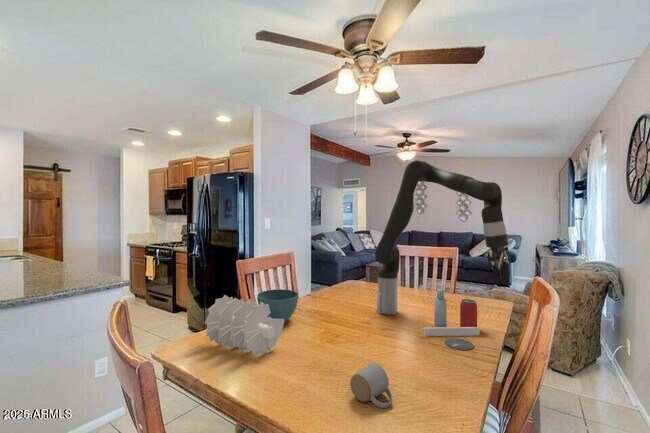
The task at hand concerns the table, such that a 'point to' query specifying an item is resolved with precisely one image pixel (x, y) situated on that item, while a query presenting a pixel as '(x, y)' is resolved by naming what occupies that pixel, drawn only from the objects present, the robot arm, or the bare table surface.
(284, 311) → the dark green bowl
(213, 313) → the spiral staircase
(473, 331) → the wall
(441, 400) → the table surface
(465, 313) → the beer can
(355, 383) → the ceramic mug
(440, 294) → the grey bottle
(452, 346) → the coaster
